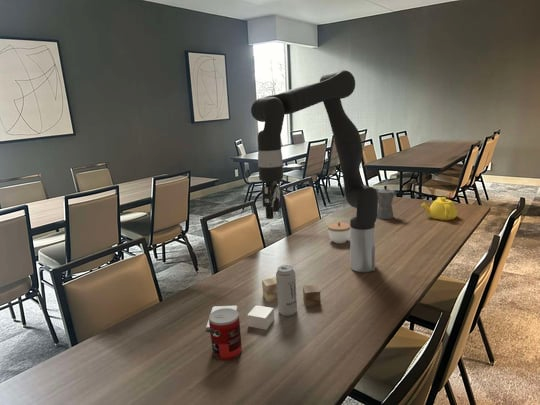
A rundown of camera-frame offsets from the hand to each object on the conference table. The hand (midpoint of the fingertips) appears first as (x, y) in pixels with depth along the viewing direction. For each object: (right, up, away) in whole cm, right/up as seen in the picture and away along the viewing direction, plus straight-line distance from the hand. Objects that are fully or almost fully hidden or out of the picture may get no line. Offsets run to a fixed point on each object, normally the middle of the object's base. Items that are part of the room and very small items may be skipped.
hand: (273, 214), depth 121 cm
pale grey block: (-4, -33, -5) cm, 34 cm away
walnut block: (+13, -29, +5) cm, 33 cm away
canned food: (-13, -37, -18) cm, 43 cm away
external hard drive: (-16, -33, -1) cm, 37 cm away
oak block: (0, -29, +10) cm, 31 cm away
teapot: (+91, -4, +86) cm, 126 cm away
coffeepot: (+63, -4, +93) cm, 113 cm away
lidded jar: (+32, -15, +60) cm, 69 cm away
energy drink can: (+5, -31, 0) cm, 32 cm away
